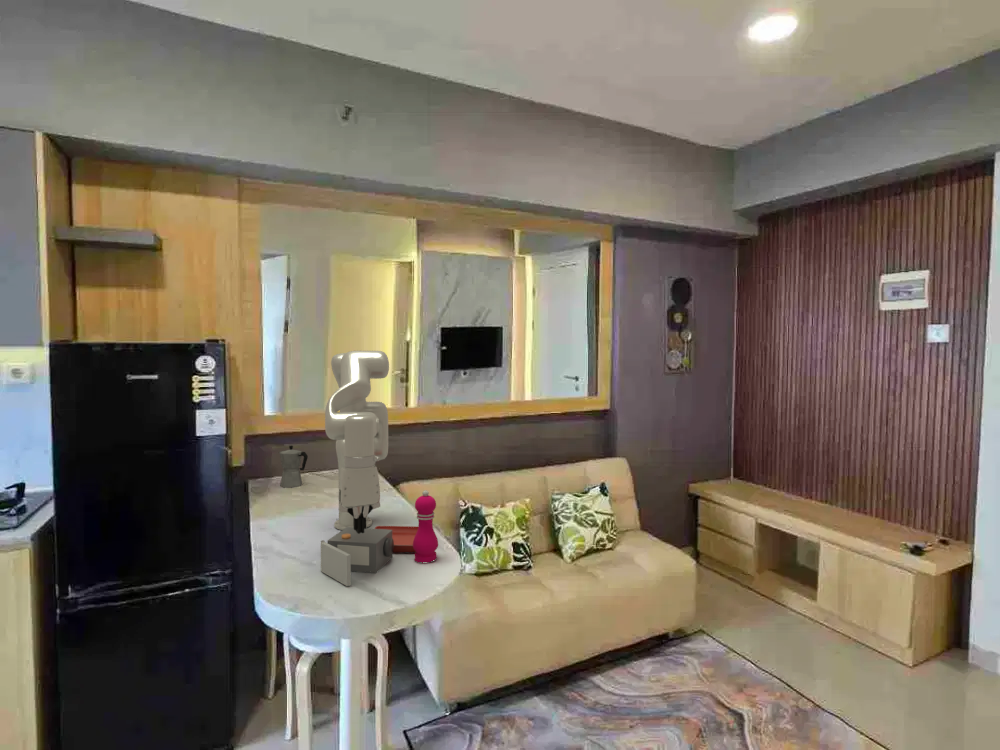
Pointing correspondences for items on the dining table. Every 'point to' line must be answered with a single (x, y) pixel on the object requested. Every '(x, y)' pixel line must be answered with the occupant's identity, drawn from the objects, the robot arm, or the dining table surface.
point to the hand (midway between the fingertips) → (359, 531)
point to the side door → (336, 563)
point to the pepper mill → (425, 529)
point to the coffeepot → (292, 467)
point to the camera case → (365, 548)
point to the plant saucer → (402, 537)
